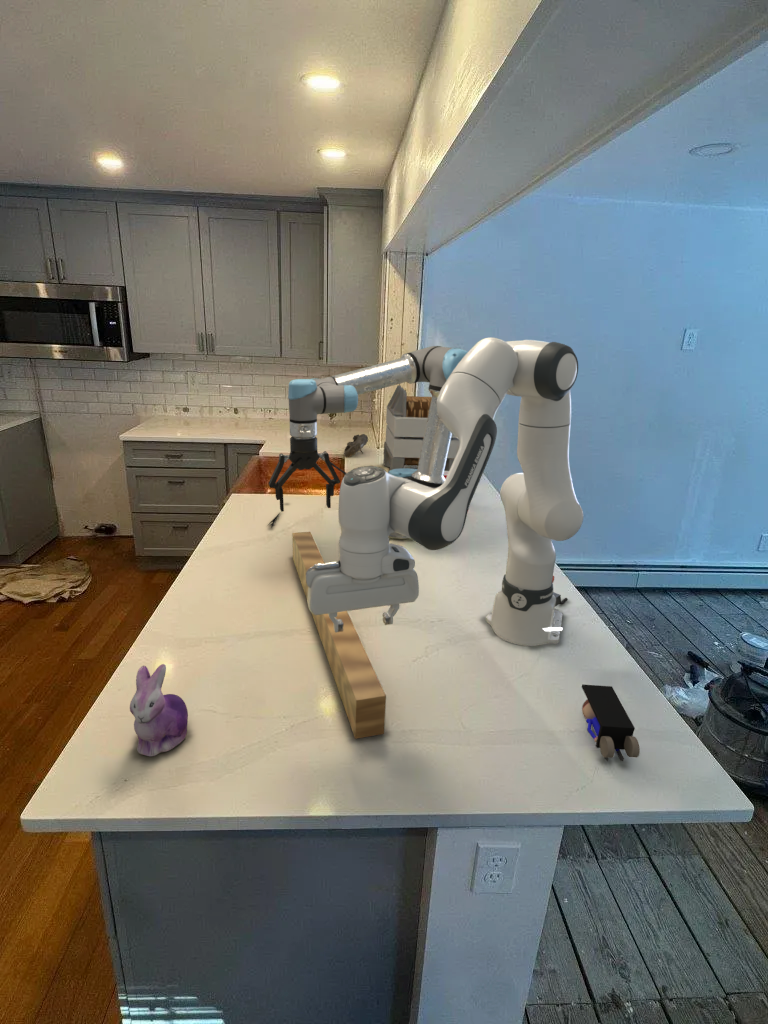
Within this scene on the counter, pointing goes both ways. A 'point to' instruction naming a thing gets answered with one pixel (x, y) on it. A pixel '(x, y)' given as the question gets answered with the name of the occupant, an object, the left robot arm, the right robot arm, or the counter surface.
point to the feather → (273, 520)
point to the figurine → (157, 714)
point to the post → (344, 654)
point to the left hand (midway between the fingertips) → (305, 508)
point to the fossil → (356, 445)
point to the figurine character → (609, 722)
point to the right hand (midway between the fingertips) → (363, 626)
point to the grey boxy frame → (409, 431)
